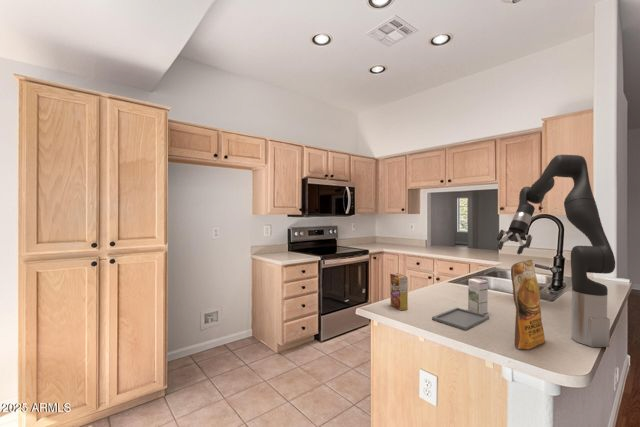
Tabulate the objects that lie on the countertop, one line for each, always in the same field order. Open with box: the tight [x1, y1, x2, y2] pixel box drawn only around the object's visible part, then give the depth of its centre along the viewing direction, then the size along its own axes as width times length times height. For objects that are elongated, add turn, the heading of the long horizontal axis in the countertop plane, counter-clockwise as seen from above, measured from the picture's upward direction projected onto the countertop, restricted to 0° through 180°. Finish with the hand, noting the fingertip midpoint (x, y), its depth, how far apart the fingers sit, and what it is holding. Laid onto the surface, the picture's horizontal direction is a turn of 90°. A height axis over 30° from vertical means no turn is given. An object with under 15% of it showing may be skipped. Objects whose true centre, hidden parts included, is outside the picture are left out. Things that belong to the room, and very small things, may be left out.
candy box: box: [389, 272, 409, 311], centre depth 141 cm, size 9×4×15 cm, turn 17°
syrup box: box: [467, 277, 489, 315], centre depth 135 cm, size 6×6×14 cm
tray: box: [431, 307, 490, 331], centre depth 126 cm, size 20×14×1 cm
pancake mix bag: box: [510, 259, 546, 351], centre depth 103 cm, size 7×19×28 cm, turn 121°
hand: (508, 251), depth 148 cm, fingers open, 8 cm apart
